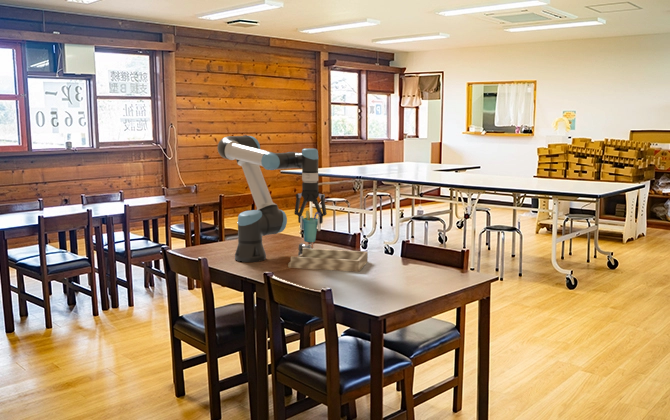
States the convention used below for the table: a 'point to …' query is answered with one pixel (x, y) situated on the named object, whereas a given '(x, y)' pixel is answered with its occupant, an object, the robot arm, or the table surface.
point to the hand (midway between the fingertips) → (310, 229)
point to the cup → (310, 227)
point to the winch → (304, 247)
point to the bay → (330, 260)
